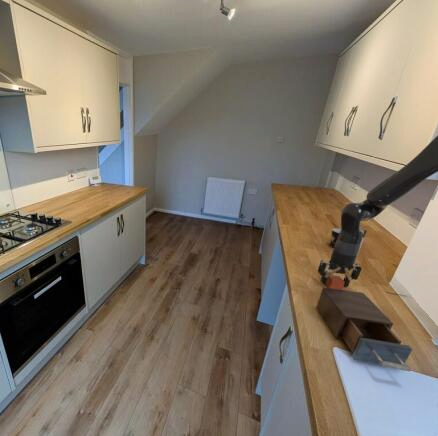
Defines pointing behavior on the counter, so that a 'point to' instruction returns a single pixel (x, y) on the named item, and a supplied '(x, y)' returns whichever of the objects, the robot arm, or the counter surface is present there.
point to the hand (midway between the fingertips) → (333, 284)
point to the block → (335, 282)
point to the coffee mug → (334, 236)
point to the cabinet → (348, 309)
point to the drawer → (375, 344)
